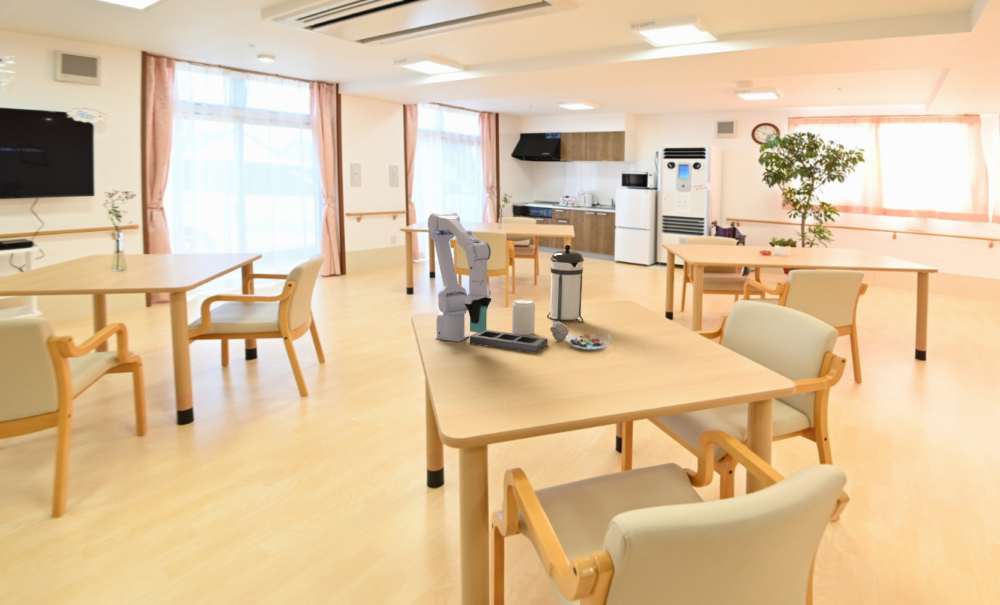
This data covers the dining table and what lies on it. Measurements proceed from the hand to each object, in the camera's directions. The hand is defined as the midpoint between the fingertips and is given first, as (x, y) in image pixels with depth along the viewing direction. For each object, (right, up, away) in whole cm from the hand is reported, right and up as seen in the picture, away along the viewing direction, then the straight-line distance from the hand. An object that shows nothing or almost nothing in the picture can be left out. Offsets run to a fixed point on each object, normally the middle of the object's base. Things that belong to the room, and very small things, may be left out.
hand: (477, 321), depth 195 cm
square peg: (0, -3, +1) cm, 3 cm away
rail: (+10, -8, +9) cm, 16 cm away
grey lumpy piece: (+28, -7, +14) cm, 32 cm away
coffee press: (+32, -1, +43) cm, 54 cm away
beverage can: (+16, -5, +23) cm, 28 cm away
